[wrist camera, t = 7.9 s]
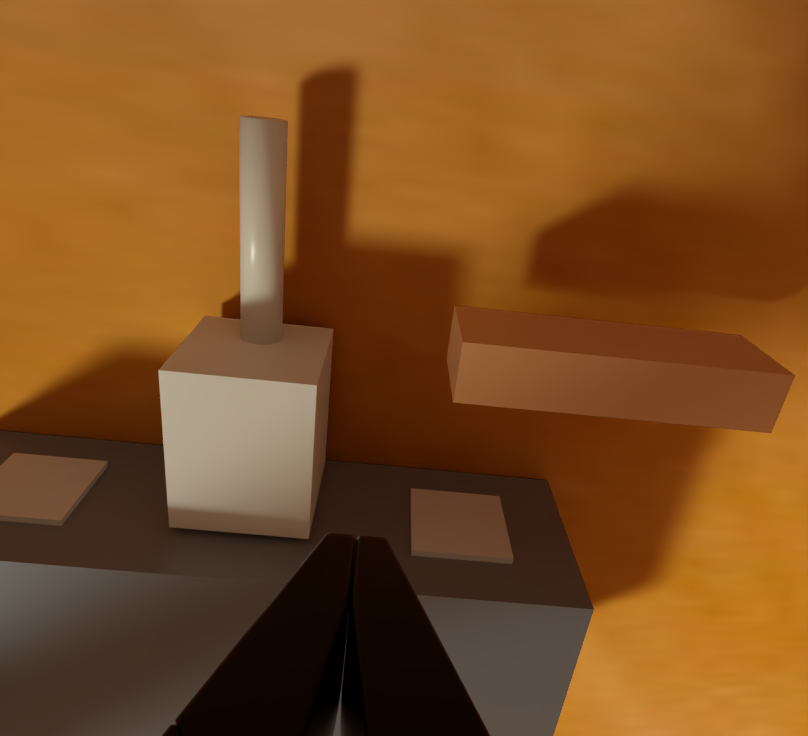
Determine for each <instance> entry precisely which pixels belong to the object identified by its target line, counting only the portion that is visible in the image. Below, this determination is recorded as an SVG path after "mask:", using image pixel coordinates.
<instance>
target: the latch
mask: <svg viewBox="0 0 808 736" xmlns="http://www.w3.org/2000/svg"><path fill="white" fill-rule="evenodd" d="M447 365H448V372H449V378H450V385H451V392H452V398H453V403H463V404H474V405H484V406H494V407H505V408H515V409H526V410H536V411H547V412H557V413H567V414H578V415H588V416H599V417H609V418H620V419H630V420H640V421H651V422H661V423H672V424H682V425H693V426H703V427H713V428H724V429H734V430H745V431H755V432H766V433H771V432H772V429H773V427H774V425H775V422H776V420H777V417H778V415H779V413H780V410H781V408H782V405H783V403H784V401H785V398H786V396H787V393H788V391H789V389H790V386H791V384H792V381H793V379H794V377H795V375H794V374H792V373H791V372H790V371H788V370H787V369H786V368H784V367H783V366H782V365H780V364H779V363H778V362H776V361H775V360H774V359H772V358H771V357H769V356H768V355H767V354H765V353H764V352H763V351H761V350H760V349H759V348H757V347H756V346H755V345H753V344H752V343H751V342H749V341H748V340H747V339H745V338H744V337H743V336H741V335H736V334H726V333H716V332H707V331H697V330H687V329H678V328H668V327H658V326H648V325H639V324H629V323H619V322H610V321H600V320H590V319H580V318H571V317H561V316H551V315H541V314H532V313H522V312H512V311H503V310H493V309H483V308H473V307H464V306H454V313H453V319H452V326H451V333H450V339H449V346H448V353H447Z"/></svg>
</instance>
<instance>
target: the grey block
mask: <svg viewBox="0 0 808 736" xmlns="http://www.w3.org/2000/svg"><path fill="white" fill-rule="evenodd" d="M328 533H337V534H349V535H353V536H354V537H355V539H356V540H357V538H358V537H359V536H373V537H383V538H385V539H387V540H388V542H389V544H390V545H391V547H392V549H393V551H394V553H395V555H396V557H397V559H398V561H399V563H400V564H401V566H402V568H403V570H404V572H405V574H406V576H407V578H408V580H409V582H410V583H411V585H412V587H413V589H414V591H415V593H416V595H417V597H418V599H419V601H420V602H421V604H422V606H423V608H424V610H425V612H426V614H427V616H428V618H429V620H430V621H431V623H432V625H433V627H434V629H435V631H436V633H437V635H438V637H439V639H440V641H441V642H442V644H443V646H444V648H445V650H446V652H447V654H448V656H449V658H450V660H451V661H452V663H453V665H454V667H455V669H456V671H457V673H458V675H459V677H460V679H461V680H462V682H463V684H464V686H465V688H466V690H467V692H468V694H469V696H470V698H471V699H472V701H473V703H474V705H475V707H476V709H477V711H478V713H479V715H480V717H481V718H482V720H483V722H484V724H485V726H486V728H487V730H488V732H489V734H490V736H553V734H554V731H555V728H556V725H557V722H558V719H559V716H560V712H561V709H562V706H563V703H564V700H565V697H566V694H567V691H568V688H569V684H570V681H571V678H572V675H573V672H574V669H575V666H576V663H577V660H578V656H579V653H580V650H581V647H582V644H583V641H584V638H585V635H586V632H587V628H588V625H589V622H590V619H591V616H592V613H593V610H594V609H593V606H592V604H591V601H590V598H589V595H588V592H587V590H586V587H585V584H584V581H583V579H582V576H581V573H580V570H579V567H578V565H577V562H576V559H575V556H574V554H573V551H572V548H571V545H570V542H569V540H568V537H567V534H566V531H565V529H564V526H563V523H562V520H561V517H560V515H559V512H558V509H557V506H556V503H555V501H554V498H553V495H552V492H551V490H550V487H549V484H548V481H547V480H539V479H528V478H517V477H506V476H495V475H484V474H473V473H462V472H451V471H440V470H429V469H418V468H407V467H396V466H385V465H374V464H363V463H352V462H341V461H330V460H325V465H324V470H323V474H322V479H321V484H320V489H319V493H318V498H317V503H316V507H315V512H314V517H313V522H312V526H311V531H310V536H309V539H302V538H290V537H279V536H267V535H255V534H243V533H232V532H220V531H208V530H196V529H185V528H173V527H169V518H168V504H167V489H166V475H165V460H164V445H154V444H143V443H132V442H121V441H110V440H99V439H88V438H77V437H66V436H55V435H44V434H33V433H22V432H11V431H0V736H162V735H163V733H164V732H165V731H166V730H167V728H168V727H169V726H170V725H172V724H175V720H176V718H177V717H178V715H179V714H180V713H181V712H182V710H183V709H184V708H185V707H186V705H187V704H188V703H189V702H190V701H191V699H192V698H193V697H194V696H195V694H196V693H197V692H198V691H199V689H200V688H201V687H202V686H203V684H204V683H205V682H206V681H207V680H208V678H209V677H210V676H211V675H212V673H213V672H214V671H215V670H216V668H217V667H218V666H219V665H220V664H221V662H222V661H223V660H224V659H225V657H226V656H227V655H228V654H229V652H230V651H231V650H232V649H233V647H234V646H235V645H236V644H237V643H238V641H239V640H240V639H241V638H242V636H243V635H244V634H245V633H246V631H247V630H248V629H249V628H250V627H251V625H252V624H253V623H254V622H255V620H256V619H257V618H258V617H259V615H260V614H261V613H262V612H263V610H264V609H265V608H266V607H267V606H268V604H269V603H270V602H271V601H272V599H273V598H274V597H275V596H276V594H277V593H278V592H279V591H280V590H281V588H282V587H283V586H284V585H285V583H286V582H287V581H288V580H289V578H290V577H291V576H292V575H293V573H294V572H295V571H296V570H297V569H298V567H299V566H300V565H301V564H302V562H303V561H304V560H305V559H306V557H307V556H308V555H309V554H310V553H311V551H312V550H313V549H314V548H315V546H316V545H317V544H318V543H319V541H320V540H321V539H322V538H323V537H324V536H325V535H326V534H328ZM355 548H356V545H355ZM354 558H355V555H354ZM353 567H354V566H353ZM352 577H353V576H352ZM348 618H349V617H348ZM347 628H348V627H347ZM346 639H347V637H346ZM345 649H346V647H345ZM344 660H345V657H344ZM343 670H344V667H343ZM342 681H343V677H342ZM341 693H342V687H341ZM340 715H341V695H340V702H339V709H338V714H337V719H336V725H335V729H334V734H333V736H341V732H340Z"/></svg>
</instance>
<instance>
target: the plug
mask: <svg viewBox="0 0 808 736" xmlns="http://www.w3.org/2000/svg"><path fill="white" fill-rule="evenodd" d="M287 129H288V121H286V120H282V119H276V118H268V117H258V116H239V154H240V319H232V318H222V317H212V316H205V317H204V318H203V319H202V320H201V321H200V323H199V324H198V325H197V326H196V327H195V328H194V330H193V331H192V332H191V333H190V334H189V335H188V336H187V338H186V339H185V340H184V341H183V342H182V343H181V345H180V346H179V347H178V348H177V349H176V350H175V351H174V353H173V354H172V355H171V356H170V357H169V358H168V360H167V361H166V362H165V363H164V364H163V365H162V366H161V368H160V369H159V370H158V373H159V387H160V402H161V416H162V431H163V445H164V460H165V475H166V489H167V504H168V518H169V527H173V528H185V529H196V530H208V531H220V532H232V533H243V534H255V535H267V536H279V537H290V538H302V539H309V536H310V531H311V526H312V522H313V517H314V512H315V507H316V503H317V498H318V493H319V489H320V484H321V479H322V474H323V470H324V465H325V457H326V441H327V425H328V409H329V393H330V377H331V361H332V345H333V330H334V329H332V328H322V327H312V326H302V325H292V324H283V289H284V249H285V209H286V169H287Z"/></svg>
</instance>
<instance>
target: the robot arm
mask: <svg viewBox="0 0 808 736" xmlns="http://www.w3.org/2000/svg"><path fill="white" fill-rule="evenodd" d="M355 545H356V548H355ZM354 555H355V558H354ZM353 566H354V567H353ZM352 576H353V577H352ZM348 617H349V618H348ZM347 627H348V628H347ZM346 637H347V639H346ZM345 647H346V649H345ZM344 657H345V660H344ZM343 667H344V670H343ZM342 677H343V681H342ZM341 687H342V693H341ZM340 695H341V715H340V732H341V736H490V734H489V732H488V730H487V728H486V726H485V724H484V722H483V720H482V718H481V717H480V715H479V713H478V711H477V709H476V707H475V705H474V703H473V701H472V699H471V698H470V696H469V694H468V692H467V690H466V688H465V686H464V684H463V682H462V680H461V679H460V677H459V675H458V673H457V671H456V669H455V667H454V665H453V663H452V661H451V660H450V658H449V656H448V654H447V652H446V650H445V648H444V646H443V644H442V642H441V641H440V639H439V637H438V635H437V633H436V631H435V629H434V627H433V625H432V623H431V621H430V620H429V618H428V616H427V614H426V612H425V610H424V608H423V606H422V604H421V602H420V601H419V599H418V597H417V595H416V593H415V591H414V589H413V587H412V585H411V583H410V582H409V580H408V578H407V576H406V574H405V572H404V570H403V568H402V566H401V564H400V563H399V561H398V559H397V557H396V555H395V553H394V551H393V549H392V547H391V545H390V544H389V542H388V540H387V539H385V538H383V537H373V536H359V537H358V538H357V540H356V539H355V537H354V536H353V535H349V534H337V533H328V534H326V535H325V536H324V537H323V538H322V539H321V540H320V541H319V543H318V544H317V545H316V546H315V548H314V549H313V550H312V551H311V553H310V554H309V555H308V556H307V557H306V559H305V560H304V561H303V562H302V564H301V565H300V566H299V567H298V569H297V570H296V571H295V572H294V573H293V575H292V576H291V577H290V578H289V580H288V581H287V582H286V583H285V585H284V586H283V587H282V588H281V590H280V591H279V592H278V593H277V594H276V596H275V597H274V598H273V599H272V601H271V602H270V603H269V604H268V606H267V607H266V608H265V609H264V610H263V612H262V613H261V614H260V615H259V617H258V618H257V619H256V620H255V622H254V623H253V624H252V625H251V627H250V628H249V629H248V630H247V631H246V633H245V634H244V635H243V636H242V638H241V639H240V640H239V641H238V643H237V644H236V645H235V646H234V647H233V649H232V650H231V651H230V652H229V654H228V655H227V656H226V657H225V659H224V660H223V661H222V662H221V664H220V665H219V666H218V667H217V668H216V670H215V671H214V672H213V673H212V675H211V676H210V677H209V678H208V680H207V681H206V682H205V683H204V684H203V686H202V687H201V688H200V689H199V691H198V692H197V693H196V694H195V696H194V697H193V698H192V699H191V701H190V702H189V703H188V704H187V705H186V707H185V708H184V709H183V710H182V712H181V713H180V714H179V715H178V717H177V718H176V720H175V724H172V725H170V726H169V727H168V728H167V730H166V731H165V732H164V733H163V735H162V736H333V734H334V729H335V725H336V719H337V714H338V709H339V702H340Z"/></svg>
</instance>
